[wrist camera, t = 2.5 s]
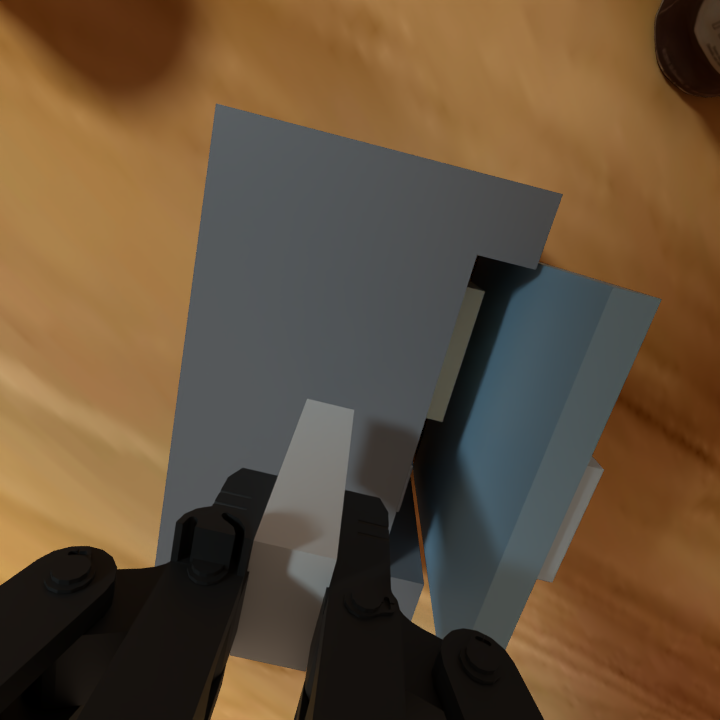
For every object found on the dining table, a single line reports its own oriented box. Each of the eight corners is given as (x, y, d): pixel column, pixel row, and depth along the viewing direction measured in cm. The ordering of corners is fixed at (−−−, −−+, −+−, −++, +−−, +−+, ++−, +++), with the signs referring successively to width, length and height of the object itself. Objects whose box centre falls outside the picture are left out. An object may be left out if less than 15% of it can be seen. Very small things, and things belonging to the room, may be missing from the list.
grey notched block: (280, 147, 24) (207, 97, 13) (489, 201, 24) (572, 193, 14) (224, 471, 29) (141, 611, 19) (392, 511, 30) (401, 667, 20)
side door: (481, 245, 25) (613, 286, 11) (518, 254, 25) (693, 307, 11) (412, 465, 29) (444, 697, 15) (443, 473, 29) (504, 709, 15)
